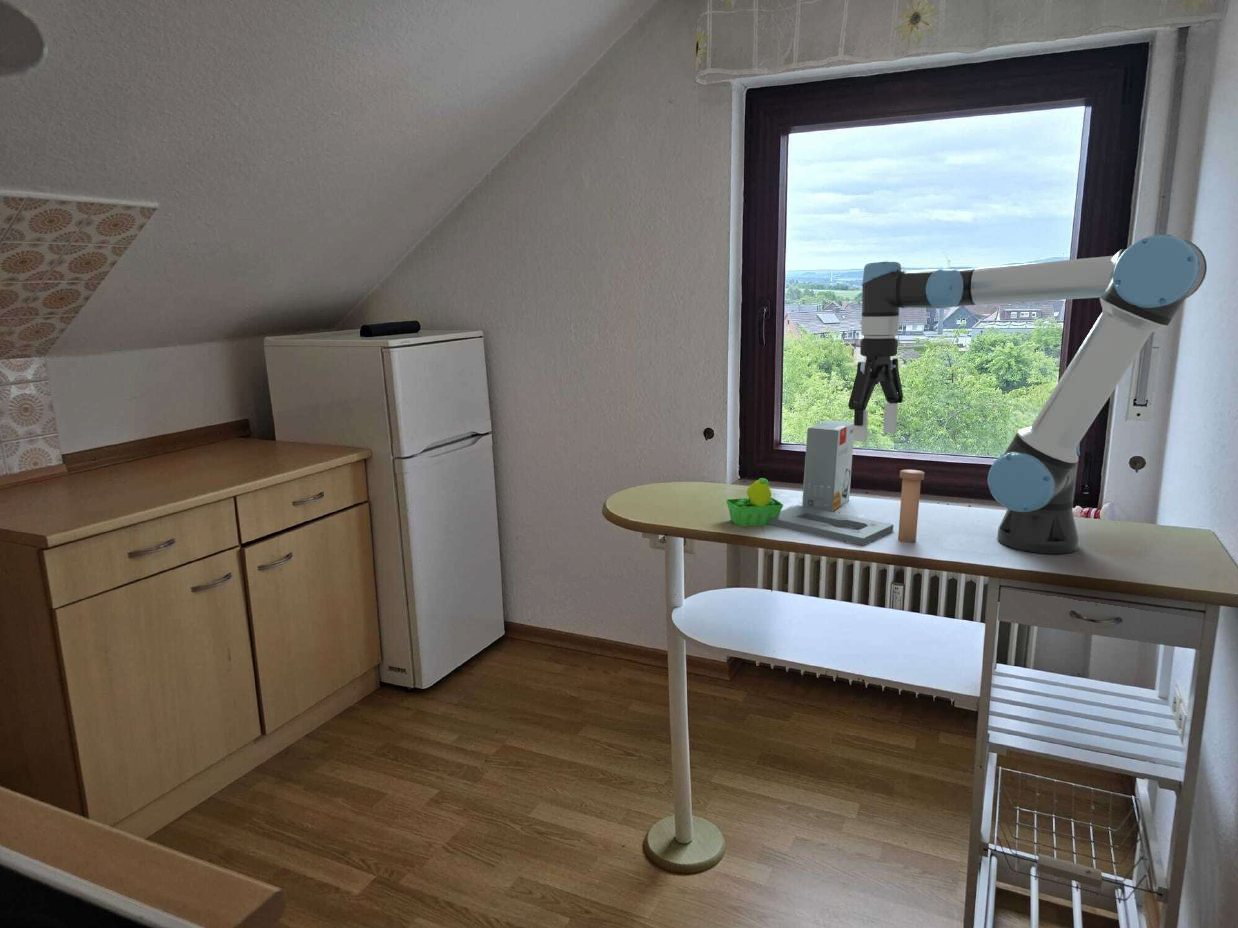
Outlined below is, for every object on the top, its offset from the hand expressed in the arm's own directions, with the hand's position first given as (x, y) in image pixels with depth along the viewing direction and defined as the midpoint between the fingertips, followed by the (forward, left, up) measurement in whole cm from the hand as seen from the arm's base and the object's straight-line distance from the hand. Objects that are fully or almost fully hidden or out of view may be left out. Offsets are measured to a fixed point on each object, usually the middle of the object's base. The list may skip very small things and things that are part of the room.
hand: (875, 436), depth 180 cm
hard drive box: (+18, -14, -21) cm, 31 cm away
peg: (-9, +1, -21) cm, 23 cm away
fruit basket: (+22, +12, -22) cm, 33 cm away
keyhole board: (+8, +4, -21) cm, 23 cm away
